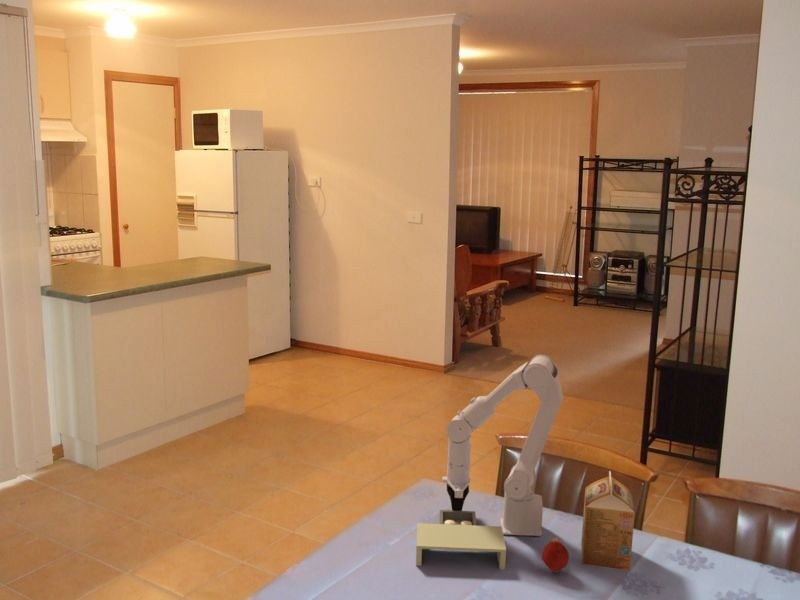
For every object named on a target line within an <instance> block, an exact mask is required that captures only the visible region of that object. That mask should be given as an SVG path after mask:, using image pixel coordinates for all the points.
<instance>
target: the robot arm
mask: <svg viewBox="0 0 800 600" xmlns="http://www.w3.org/2000/svg"><path fill="white" fill-rule="evenodd" d="M559 374H560V372H559V368H558V367H557V365H556V364H555V362H554V361H553V359H552V358H551V357H550V356H548V355H545V354H537V355H535V356H534V357H532V359H530V360H529V361H527V362H524V364H521V366H519V367H517V369H515V370H514V371H513V372H512V373H510V374H509V375H508V376H506V378H505V379H504V380H503V381H502V382H500V383H499V385H498V386H497V387H495V388H494V390H492V391H491V392H490V393H488V395H485V396H484V395H479V396H477V397H475V396H474V397H473V398H471V400H469V402H470V403H469V404H468V405H467V406H466V407H464V409H462V410H461V409H459V410H458V411H457V413H456V415H455V416H454V417H453V418H452V419H451V420H450V422H449V423H448V424H447V426H446V430H445V431H446V435H447V437H448V444H447V466H446V467H447V468H446V469H447V470H446V476H442V478H441V479H442V482H443V483H446V492H447V494H448V496H449V498H450V505H451V510H455V511H463V507H464V504H465V500H466V498H467V496H468V494H469V493H470V483H471V478H470V477H471V476H470V473H471V472H470V471H471V451H472V445H471V439H472V435H471V434H472V433H473V432H474V431H476V430H477V429H479V428H480V427H481V426H483V424H484V423H485V422H487V421H488V420H489V419H490V418H491V417H493V416H494V415H495V412H496V410H495V409H496V407H497V405H498V404H500V403H501V402H503V400H505V399H506V398H507V397H508V396H510V395H511V394H512V393H514V392H515V391H516V390H527V389H528V387H529V389H531V390H532V392H533V393H535V394H536V396H537V398H538V399H539V401H540V405H539V407H538V410H537V413H536V414H535V417H534V420H533V421H532V425H531V427H530V429H529V432H528V435H527V436H526V440H525V443H524V445H523V447H522V450H521V452H520V455H519V458H518V460H517V462H516V464H515V465H513V466H511V469H510V471H509V472H510V473H509V474H508V477H507V478H506V479H505V481H504V484H503V489H504V497H503V499H504V500H503V514H502V515H503V516H502V517H501V518H500V519H499V521H500V526H501V527H502V531H503V536H504V535H507V536H510V535H511V536H530V537H531V536H532V537H534V536H535V537H542V535H543V534H542V525H543V513H544V511H543V508H544V507H543V506H544V505H543V504H544V503H543V499H542V498H543V497H542V495H540V494H536V493H535V492H534V490H533V488H532V485H533V483H534V482H535V480H536V467H537V464H538V462H539V459H540V457H541V454H542V452H543V450H544V447H545V445H546V442H547V439H548V437H549V435H550V432H551V429H552V427H553V425H554V423H555V420H556V417H557V415H558V413H559V410H560V408H561V405H562V403H563V400H564V394H563V389H562V385H561V381H560V375H559Z"/></svg>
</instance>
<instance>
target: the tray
mask: <svg viewBox="0 0 800 600" xmlns="http://www.w3.org/2000/svg"><path fill="white" fill-rule="evenodd" d="M438 517H439V519H438V520H439V521H438V524H451V525H476V526H477V518H476V511H474V510H473V511H472V510H462V511H455V510H452V509H451V510H450V509H439V515H438Z"/></svg>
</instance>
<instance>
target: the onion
mask: <svg viewBox="0 0 800 600" xmlns="http://www.w3.org/2000/svg"><path fill="white" fill-rule="evenodd" d="M569 555H570V554H569V550H568V549H567V547H566V546H565V545H564V544H563V543H562V542H560V541H559V539H558V538H556V537H553V541H550V542H548V543H547V544H546V545H545V546H544V547H543V551H542V554H541V559H542V562H543V564H544V565H545V566H546V567H547V569H549V570H550V571H551V572H552V573H556V572H557V573H558V572H560V571H561V570H563V569H565V568H566V567H567V566H568V562H569V559H570V556H569Z"/></svg>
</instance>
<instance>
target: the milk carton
mask: <svg viewBox="0 0 800 600" xmlns="http://www.w3.org/2000/svg"><path fill="white" fill-rule="evenodd" d="M584 490H585V491H584V503H583V513H582V514H583V517H582V528H581V565H585V566H592V567H600V568H608V569H616V570H623V571H631V560H632V549H633V540H634V539H633V538H634V537H633V536H634V528H635V527H634V525H635V515H636V513H635V505H634V501H633V500H634V499H633V494H632V492H631V491H630V490H629V489H628V488H627V487H626V486H625V485H624V484H623V483H621V482H619V481H618V480H616V479H615V478H613V477H612V473H611V471H610V470H609V471H608V476H605V477H603V478H601V479H598V480H596V481H593V482H592V483H590V484H589V485H587V486H585V489H584Z"/></svg>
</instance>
